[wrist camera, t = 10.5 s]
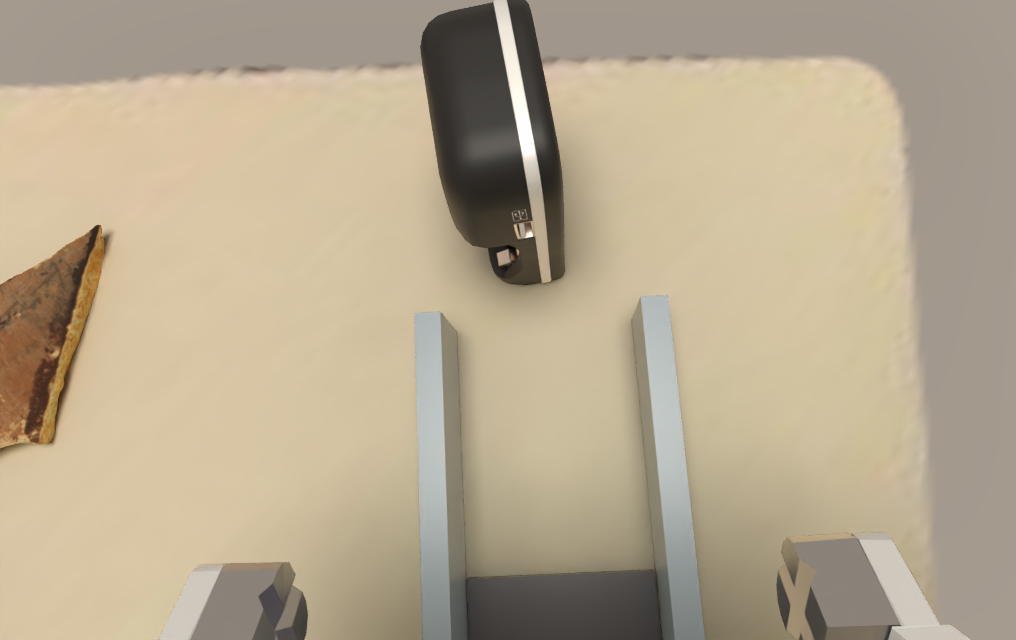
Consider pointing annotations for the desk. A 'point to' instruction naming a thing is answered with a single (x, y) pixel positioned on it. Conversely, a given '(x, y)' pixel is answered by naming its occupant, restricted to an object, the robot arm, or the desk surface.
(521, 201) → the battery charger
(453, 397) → the channel
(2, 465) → the desk surface
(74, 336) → the shard
